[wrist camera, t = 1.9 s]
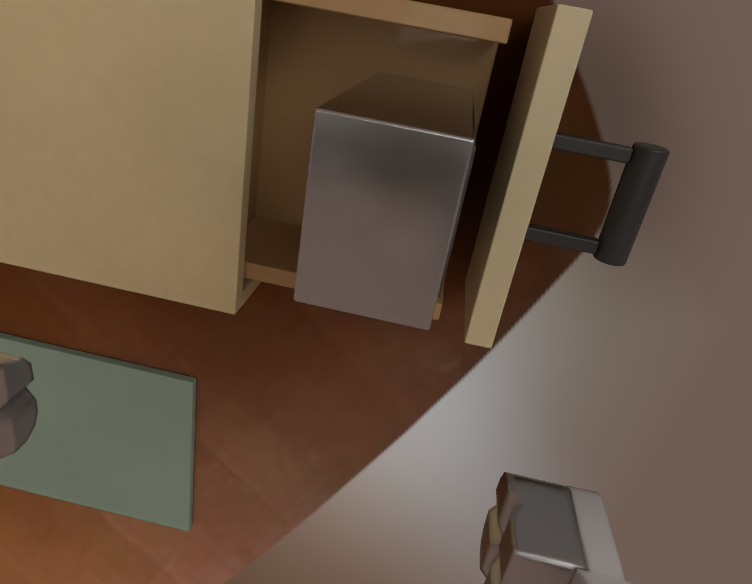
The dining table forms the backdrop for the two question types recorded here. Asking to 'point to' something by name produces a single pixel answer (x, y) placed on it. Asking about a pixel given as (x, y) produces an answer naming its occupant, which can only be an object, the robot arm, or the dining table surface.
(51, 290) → the dining table surface
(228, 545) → the dining table surface
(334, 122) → the brushed metal box
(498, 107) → the dining table surface
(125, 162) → the cabinet
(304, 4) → the drawer
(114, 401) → the mat
